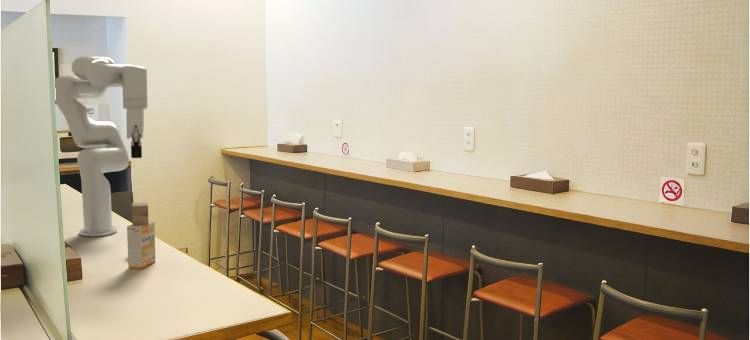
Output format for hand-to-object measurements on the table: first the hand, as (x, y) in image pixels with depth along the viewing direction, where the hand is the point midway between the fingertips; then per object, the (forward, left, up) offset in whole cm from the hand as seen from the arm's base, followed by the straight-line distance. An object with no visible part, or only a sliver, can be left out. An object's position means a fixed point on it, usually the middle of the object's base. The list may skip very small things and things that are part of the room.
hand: (136, 155), depth 213 cm
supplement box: (+21, 0, -32) cm, 38 cm away
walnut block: (+20, 0, -18) cm, 28 cm away
